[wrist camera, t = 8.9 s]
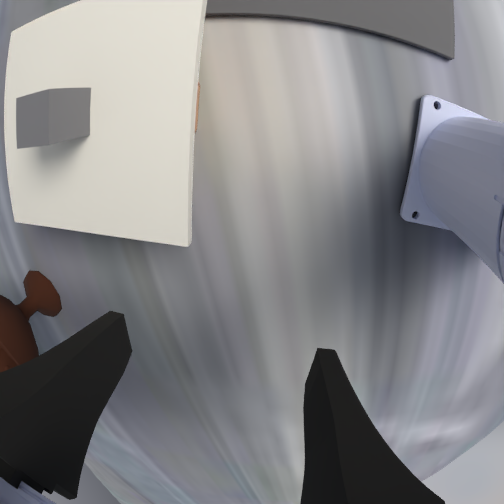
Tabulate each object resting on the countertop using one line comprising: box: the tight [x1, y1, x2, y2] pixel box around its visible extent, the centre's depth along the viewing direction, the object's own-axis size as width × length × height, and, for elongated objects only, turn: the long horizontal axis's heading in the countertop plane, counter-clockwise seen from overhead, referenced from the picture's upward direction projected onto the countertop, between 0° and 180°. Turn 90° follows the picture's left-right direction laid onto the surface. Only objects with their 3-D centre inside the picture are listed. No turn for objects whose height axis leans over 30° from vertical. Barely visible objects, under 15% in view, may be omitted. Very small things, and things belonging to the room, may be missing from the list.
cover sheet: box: [4, 0, 207, 247], centre depth 10 cm, size 13×13×4 cm
